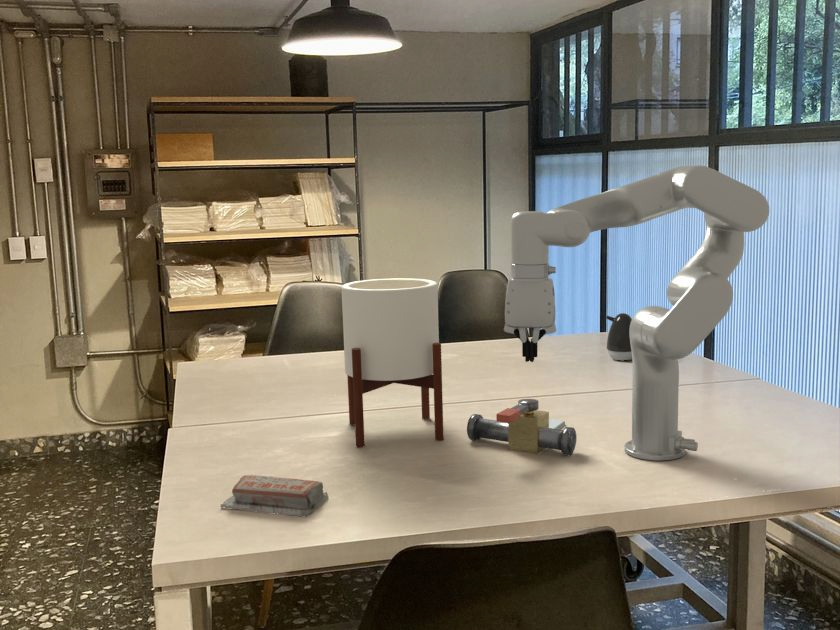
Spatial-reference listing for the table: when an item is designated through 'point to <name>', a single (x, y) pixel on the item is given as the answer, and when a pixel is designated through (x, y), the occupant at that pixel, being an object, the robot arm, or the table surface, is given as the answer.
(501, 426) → the pipe and valve body
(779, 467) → the table surface
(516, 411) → the valve lever
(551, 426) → the hard drive
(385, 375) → the plant pot with stand
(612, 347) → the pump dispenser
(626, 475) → the table surface
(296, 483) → the packaged product
